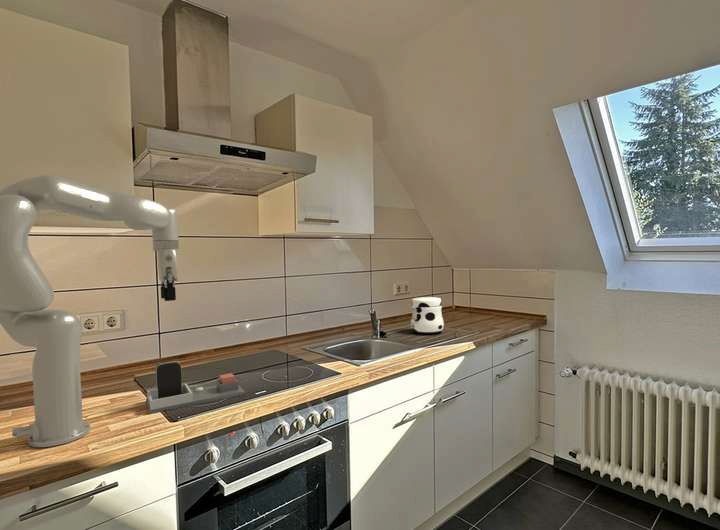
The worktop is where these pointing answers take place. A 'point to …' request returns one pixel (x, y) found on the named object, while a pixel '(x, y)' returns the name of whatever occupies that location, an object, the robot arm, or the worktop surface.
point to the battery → (169, 379)
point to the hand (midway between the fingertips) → (168, 299)
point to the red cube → (226, 378)
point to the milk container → (427, 315)
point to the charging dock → (192, 396)
